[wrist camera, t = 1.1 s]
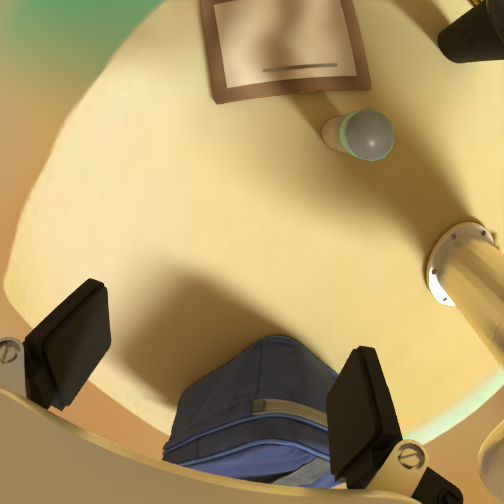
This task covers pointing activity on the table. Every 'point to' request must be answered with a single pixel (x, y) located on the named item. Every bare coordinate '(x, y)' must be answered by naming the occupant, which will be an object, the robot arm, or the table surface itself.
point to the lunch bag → (258, 418)
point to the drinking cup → (475, 34)
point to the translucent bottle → (360, 134)
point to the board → (283, 47)
